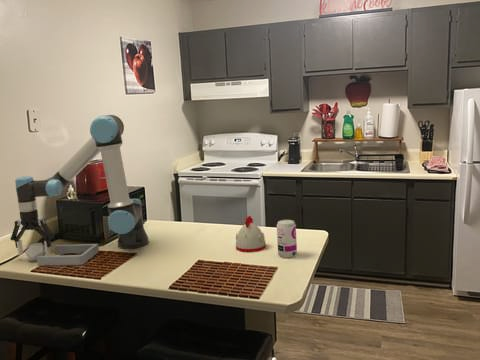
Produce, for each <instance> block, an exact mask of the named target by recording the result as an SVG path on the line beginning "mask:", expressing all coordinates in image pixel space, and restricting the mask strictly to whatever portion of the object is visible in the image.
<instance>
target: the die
mask: <svg viewBox="0 0 480 360" xmlns="http://www.w3.org/2000/svg"><path fill="white" fill-rule="evenodd" d="M24 253H25V255H26V256H27V258H28V259H29V261H30V262H37V257H38V256H46V251H45V244H44V243H43V242H35V243H29V246H28V247H27V248H26V250H25V252H24Z"/></svg>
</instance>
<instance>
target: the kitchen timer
mask: <svg viewBox="0 0 480 360" xmlns="http://www.w3.org/2000/svg"><path fill="white" fill-rule="evenodd" d="M265 239H266V238H265V234H264V232H262V229H261V228H259V226H258V225H257V224H255V223H254V219H253V217H252V216H251V215H248V216H247V218H245V221H244V224H243V225H242V226H241V228H239V231H238V232H237V233H236V234H235V250H236V251H239V252H241V253H257V252H261V251H263V250H265V249H266V247H267V246H266V245H267V244H266V240H265Z"/></svg>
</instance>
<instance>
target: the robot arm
mask: <svg viewBox="0 0 480 360" xmlns="http://www.w3.org/2000/svg"><path fill="white" fill-rule="evenodd" d="M124 130H125V124H124V122H123V121H122V119H121V118H120V117H119V116H118V115H114V114H108V115H107V114H106V115H100V116H98V117H96V118H94V120H92V122H91V123H90V127H89V133H90V136H91V137H90V138H89V139H88V141H86V142H85V144H84V145H82V146H81V148H79V150H78V151H76V152H75V154H73V155H72V157H71V158H70V159H69V160H67V162H66V163H64V165H63V166H62V167H61V168H60V169H59V170H58V171H57V172H56V173H55V174H54V175H53V176H51V177H48V178H47V179H40V180H34V178H33V176H31V175H30V176H29V175H28V176H27V175H26V176H20V177H17V178H16V179H15V181H14V183H15V191H16V197H17V203H18V204H17V205H18V211H19V218H20V219H17V220H15V221H14V227H13V230H12V232H11V236H10V240H11V241H14V243H15V248H16V249H17V254H18V256H21V255H22V254H24V248H23V242H22V239H21V238H22V236H23V235H24V233H25V232H26V231H35V232H37V233H38V234H39V235H40V236H41V237H42V238H43V239H44V242H43V245H44V247H45V251H46V254H45V256H49V255H50V254H51V248H50V247H51V246H52V243H51V242H52V241H51V240H52V239H54V238H55V235H54V233H52V231H51V229H50V227H49V226H48V224H47V222H46V219H44V218H43V219H39V212H38V209H37V208H38V207H37V200H36V199H37V198H41V197H42V198H43V197H55V196H57V197H58V196H61V194H62V192H63V190H65V189H66V188H67V187H68V185H69V184H70V183H71V181H72V180H73V179H74V178H76V176H77V175H79V173H80V172H81V171H83V169H85V168H86V167H87V166H88V165H89V164H90V163H91V162H92V161H93V159H95V158H96V157H97V156H98V155H99V154H100V153H101V160H102V164H103V170H104V175H105V180H106V185H107V191H108V195H109V204H108V205H107V209H108V213H109V215H108V219H107V224H108V227H109V228H110V230H111V231H112V232H114V233H116V234H117V235H118V236H117V237H118V238H117V247H118V248H120V249H125V250H128V249H137V248H141V247H144V246H146V245H148V244H149V241H150V240H149V237H148V234H147V232H146V230H145V228H144V219H143V217H144V216H143V210H142V205H143V204H142V202H141V199H140V198H130V195H129V189H128V185H127V183H128V182H127V178H126V174H125V172H126V171H125V168H124V162H123V157H122V156H123V155H122V153H121V152H122V151H121V147H122V145H123V138H122V135H123V133H124ZM21 226H22V227H21ZM20 227H21V229H20Z"/></svg>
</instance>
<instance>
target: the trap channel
mask: <svg viewBox="0 0 480 360" xmlns="http://www.w3.org/2000/svg"><path fill="white" fill-rule="evenodd" d="M53 248H54V254H55V255H45V256H38V257H37V261H36V262H37V266H38V267H42V266H45V265H50V266H83V264H84V265H86V263H88V262H89V261H90V260H91V259H92V258H93V257H94V255H97V254H98V253H99V252H100V249H99V243H83V244H56V245H54V246H53ZM68 253H75V254H68ZM66 254H67V255H66ZM89 259H90V260H89ZM88 260H89V261H88Z"/></svg>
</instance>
